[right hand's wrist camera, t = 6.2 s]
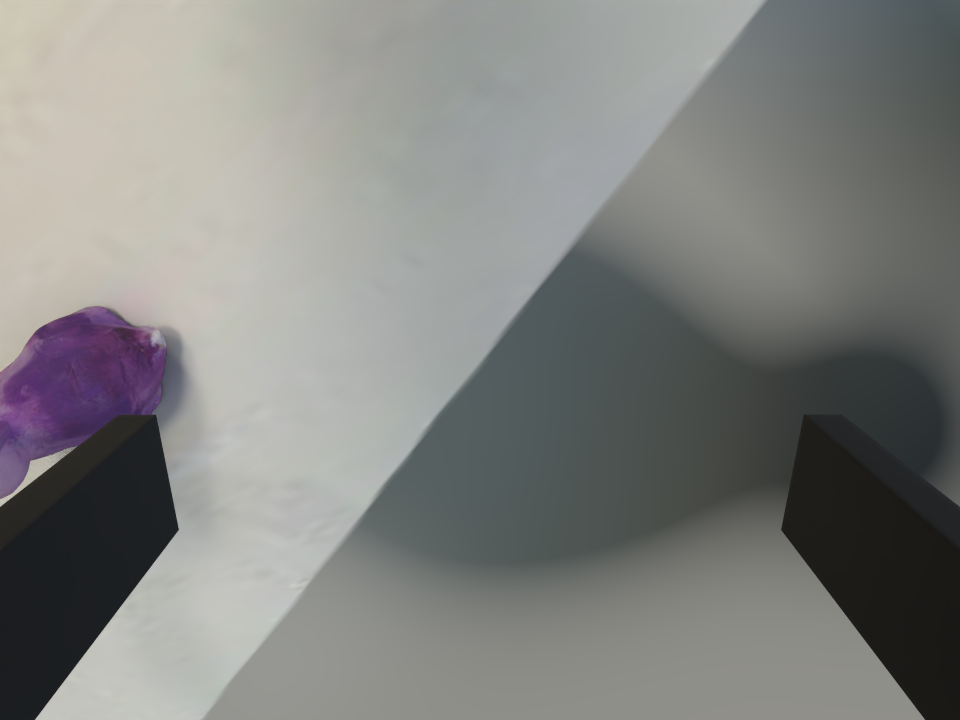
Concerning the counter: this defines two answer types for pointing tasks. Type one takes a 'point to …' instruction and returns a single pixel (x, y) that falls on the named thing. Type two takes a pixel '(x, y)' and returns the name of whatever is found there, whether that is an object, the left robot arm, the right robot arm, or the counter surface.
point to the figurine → (75, 386)
